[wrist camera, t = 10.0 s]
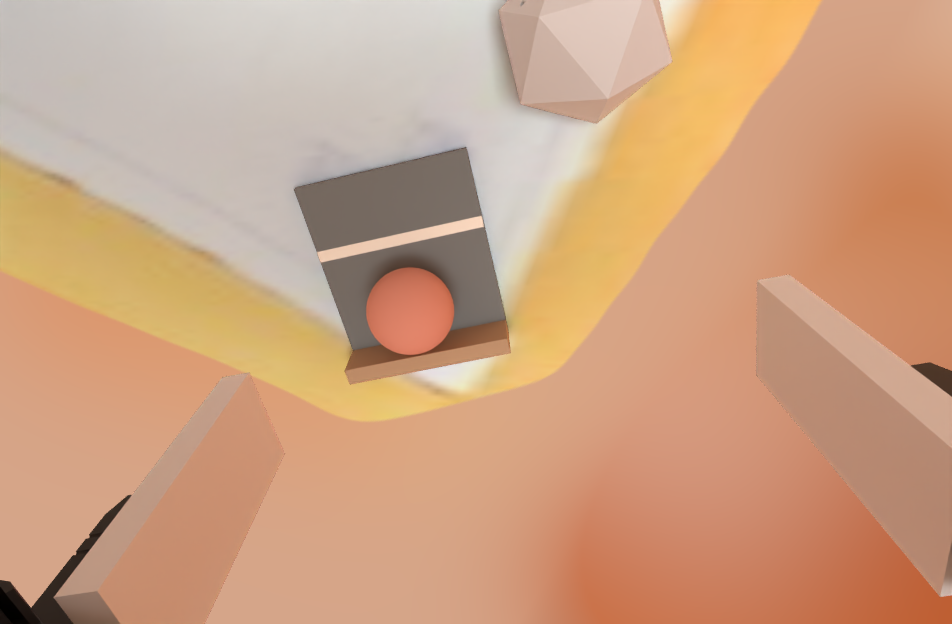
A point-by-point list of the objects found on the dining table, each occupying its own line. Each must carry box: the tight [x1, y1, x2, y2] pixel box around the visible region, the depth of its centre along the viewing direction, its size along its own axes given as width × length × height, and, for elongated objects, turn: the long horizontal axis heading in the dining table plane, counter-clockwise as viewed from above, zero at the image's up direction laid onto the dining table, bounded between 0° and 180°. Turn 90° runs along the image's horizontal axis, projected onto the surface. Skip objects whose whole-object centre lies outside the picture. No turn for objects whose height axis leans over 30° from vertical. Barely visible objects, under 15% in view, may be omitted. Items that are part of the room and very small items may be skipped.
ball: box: [366, 267, 454, 355], centre depth 39 cm, size 6×6×6 cm
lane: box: [294, 148, 510, 384], centre depth 40 cm, size 14×12×4 cm
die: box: [499, 0, 672, 124], centre depth 31 cm, size 8×9×10 cm
